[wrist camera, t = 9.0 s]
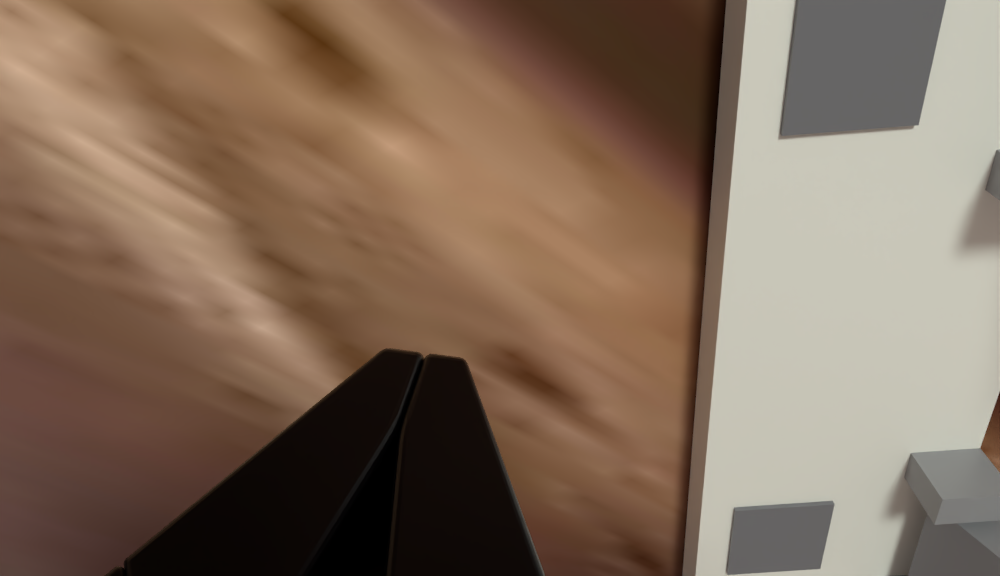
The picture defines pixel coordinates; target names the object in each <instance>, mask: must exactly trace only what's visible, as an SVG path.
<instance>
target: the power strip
mask: <svg viewBox="0 0 1000 576" xmlns="http://www.w3.org/2000/svg"><path fill="white" fill-rule="evenodd" d="M999 392H1000V0H726V10H725V23H724V36H723V49H722V62H721V75H720V88H719V101H718V114H717V128H716V141H715V154H714V167H713V180H712V193H711V206H710V219H709V232H708V245H707V259H706V272H705V285H704V298H703V311H702V324H701V337H700V350H699V363H698V376H697V390H696V403H695V416H694V429H693V442H692V455H691V468H690V481H689V494H688V507H687V521H686V534H685V547H684V560H683V573H682V576H908V573H909V570H910V567H911V563H912V560H913V557H914V554H915V551H916V548H917V544H918V541H919V538H920V535H921V532H922V529H923V525H924V522H925V519H926V516H927V514H928V516H929V517H930V519H931V520H932V522H933V523H934V525H940V524H955V523H970V522H985V521H1000V473H999V471H998V470H997V469H996V468H995V466H994V465H993V464H992V463H991V461H990V460H989V459H988V458H987V456H986V455H985V454H984V453H983V451H982V450H981V449H980V447H981V444H982V441H983V438H984V435H985V432H986V429H987V427H988V424H989V421H990V418H991V415H992V412H993V409H994V406H995V403H996V401H997V398H998V395H999Z"/></svg>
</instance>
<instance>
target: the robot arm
mask: <svg viewBox="0 0 1000 576" xmlns="http://www.w3.org/2000/svg"><path fill="white" fill-rule="evenodd" d="M124 569H125V570H124ZM105 576H545V574H544V571H543V569H542V566H541V563H540V560H539V558H538V555H537V552H536V550H535V547H534V544H533V541H532V539H531V536H530V533H529V530H528V528H527V525H526V522H525V519H524V517H523V514H522V511H521V509H520V506H519V503H518V500H517V498H516V495H515V492H514V489H513V487H512V484H511V481H510V478H509V476H508V473H507V470H506V468H505V465H504V462H503V459H502V457H501V454H500V451H499V448H498V446H497V443H496V440H495V438H494V435H493V432H492V429H491V427H490V424H489V421H488V418H487V416H486V413H485V410H484V407H483V405H482V402H481V399H480V397H479V394H478V391H477V388H476V386H475V383H474V380H473V377H472V375H471V372H470V369H469V366H468V364H467V362H466V361H465V360H464V359H463V358H460V357H453V356H445V355H437V354H429V355H427V356H426V357H425V358H424V357H423V355H422V354H421V353H419V352H414V351H406V350H399V349H391V348H390V349H384V350H382V351H380V352H379V353H378V354H376V355H375V356H374V357H373V358H372V359H370V360H369V361H368V362H367V363H365V364H364V365H363V366H362V367H361V368H359V369H358V370H357V371H356V372H354V373H353V374H352V375H351V376H349V377H348V378H347V379H346V380H345V381H343V382H342V383H341V384H340V385H338V386H337V387H336V388H335V389H334V390H332V391H331V392H330V393H329V394H327V395H326V396H325V397H324V398H323V399H321V400H320V401H319V402H318V403H316V404H315V405H314V406H313V407H312V408H310V409H309V410H308V411H307V412H305V413H304V414H303V415H302V416H300V417H299V418H298V419H297V420H296V421H294V422H293V423H292V424H291V425H289V426H288V427H287V428H286V429H285V430H283V431H282V432H281V433H280V434H278V435H277V436H276V437H275V438H274V439H272V440H271V441H270V442H269V443H267V444H266V445H265V446H264V447H262V448H261V449H260V450H259V451H258V452H256V453H255V454H254V455H253V456H251V457H250V458H249V459H248V460H247V461H245V462H244V463H243V464H242V465H240V466H239V467H238V468H237V469H236V470H234V471H233V472H232V473H231V474H229V475H228V476H227V477H226V478H224V479H223V480H222V481H221V482H220V483H218V484H217V485H216V486H215V487H213V488H212V489H211V490H210V491H209V492H207V493H206V494H205V495H204V496H202V497H201V498H200V499H199V500H198V501H196V502H195V503H194V504H193V505H191V506H190V507H189V508H188V509H187V510H185V511H184V512H183V513H182V514H180V515H179V516H178V517H177V518H175V519H174V520H173V521H172V522H171V523H169V524H168V525H167V526H166V527H164V528H163V529H162V530H161V531H160V532H158V533H157V534H156V535H155V536H153V537H152V538H151V539H150V540H149V541H147V542H146V543H145V544H144V545H142V546H141V547H140V548H139V549H137V550H136V551H135V552H134V553H133V554H131V555H130V556H129V557H128V558H126V560H125V561H124V568H122V567H119V566H118V567H115V568H114V569H112V570H111V571H110V572H109V573H108V574H106V575H105Z"/></svg>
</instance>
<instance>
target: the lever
mask: <svg viewBox="0 0 1000 576" xmlns="http://www.w3.org/2000/svg"><path fill="white" fill-rule="evenodd" d="M908 576H1000V521H985V522H970V523H955V524H940V525H934V523H933V522H932V520H931V519H930V517H929V516H928V514H927V516H926V519H925V522H924V525H923V529H922V532H921V535H920V538H919V541H918V544H917V548H916V551H915V554H914V557H913V560H912V563H911V567H910V570H909V573H908Z"/></svg>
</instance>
